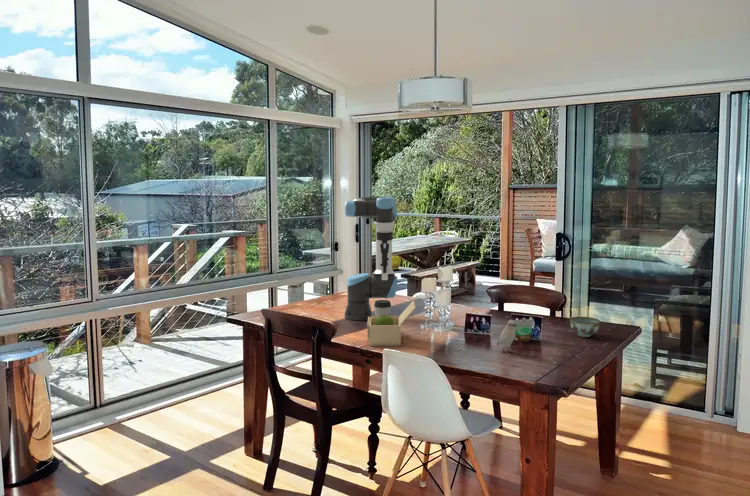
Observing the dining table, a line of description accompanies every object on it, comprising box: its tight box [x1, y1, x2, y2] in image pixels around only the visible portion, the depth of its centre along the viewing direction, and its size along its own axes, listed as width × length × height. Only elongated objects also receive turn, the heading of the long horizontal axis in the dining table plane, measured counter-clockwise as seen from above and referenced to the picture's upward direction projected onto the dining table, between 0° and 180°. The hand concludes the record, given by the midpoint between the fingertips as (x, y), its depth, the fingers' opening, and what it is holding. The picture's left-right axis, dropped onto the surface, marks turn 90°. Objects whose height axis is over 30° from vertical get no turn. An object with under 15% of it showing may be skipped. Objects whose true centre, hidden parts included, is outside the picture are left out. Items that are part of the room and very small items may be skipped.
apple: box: [375, 315, 394, 325], centre depth 285 cm, size 9×8×12 cm
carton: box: [366, 315, 402, 347], centre depth 285 cm, size 20×15×10 cm
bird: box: [496, 319, 517, 354], centre depth 264 cm, size 5×14×15 cm, turn 23°
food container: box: [512, 316, 535, 343], centre depth 284 cm, size 12×6×10 cm, turn 118°
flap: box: [398, 300, 417, 325], centre depth 284 cm, size 16×1×10 cm
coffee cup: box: [373, 299, 392, 316], centre depth 302 cm, size 8×8×15 cm
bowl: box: [569, 316, 601, 338], centre depth 292 cm, size 14×13×8 cm
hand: (384, 277), depth 286 cm, fingers open, 13 cm apart
